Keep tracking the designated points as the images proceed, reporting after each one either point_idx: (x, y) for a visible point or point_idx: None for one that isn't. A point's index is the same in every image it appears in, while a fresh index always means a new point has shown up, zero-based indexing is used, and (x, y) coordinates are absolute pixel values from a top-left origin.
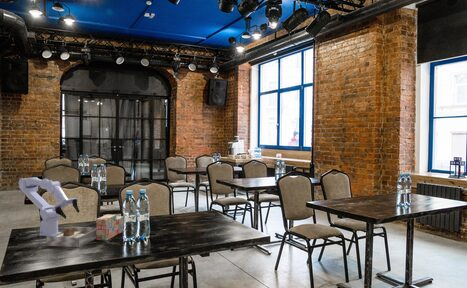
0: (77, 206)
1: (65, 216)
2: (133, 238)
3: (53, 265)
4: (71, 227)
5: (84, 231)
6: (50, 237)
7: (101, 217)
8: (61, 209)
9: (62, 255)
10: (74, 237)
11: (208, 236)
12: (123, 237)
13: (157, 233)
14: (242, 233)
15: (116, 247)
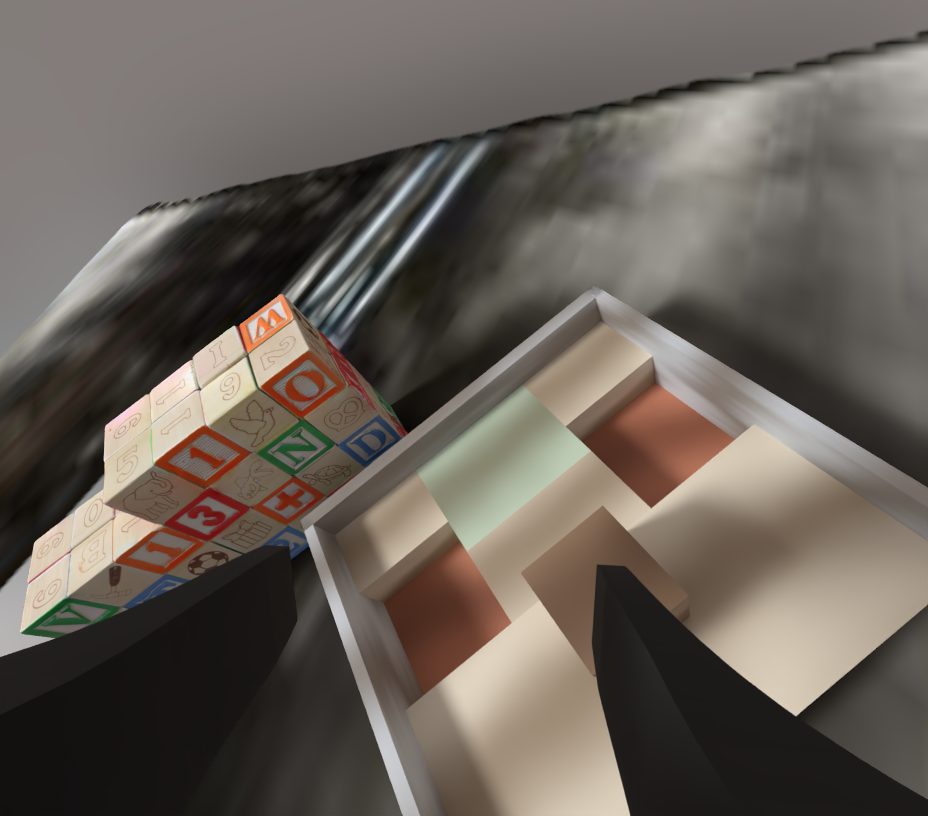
0: (162, 593)
1: (613, 568)
2: None
3: (851, 80)
4: (548, 602)
5: (394, 676)
6: (924, 494)
7: (237, 388)
8: (709, 738)
9: (769, 213)
10: (623, 308)
11: (164, 265)
12: None
13: None
14: (114, 258)
15: (436, 254)
